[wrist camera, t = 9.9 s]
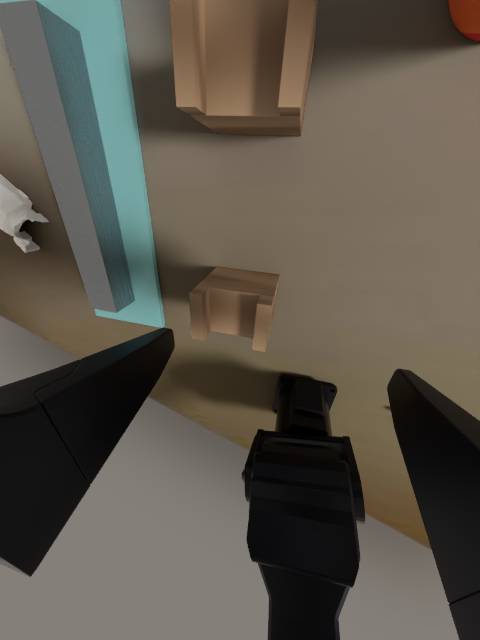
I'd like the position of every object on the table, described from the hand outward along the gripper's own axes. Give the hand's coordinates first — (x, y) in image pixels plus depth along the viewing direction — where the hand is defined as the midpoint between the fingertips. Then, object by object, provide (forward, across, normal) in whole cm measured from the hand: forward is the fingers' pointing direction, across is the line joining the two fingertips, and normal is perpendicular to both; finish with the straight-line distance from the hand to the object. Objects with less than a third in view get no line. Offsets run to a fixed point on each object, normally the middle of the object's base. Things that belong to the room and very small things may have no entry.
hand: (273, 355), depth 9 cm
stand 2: (+13, +4, +3) cm, 14 cm away
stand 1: (+13, +4, -11) cm, 17 cm away
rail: (+12, +18, -4) cm, 22 cm away
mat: (+13, +18, -4) cm, 22 cm away
